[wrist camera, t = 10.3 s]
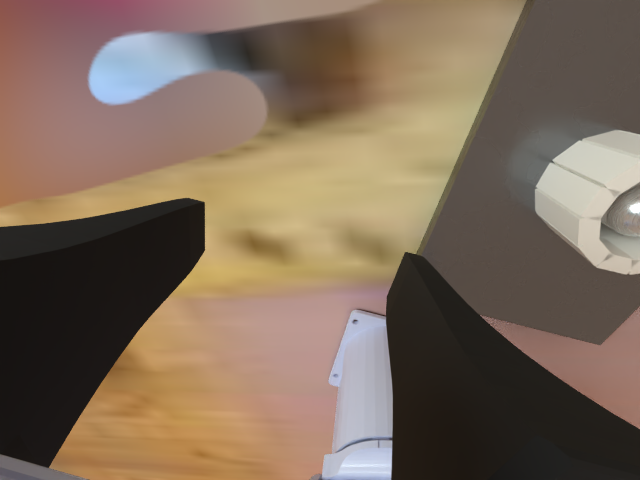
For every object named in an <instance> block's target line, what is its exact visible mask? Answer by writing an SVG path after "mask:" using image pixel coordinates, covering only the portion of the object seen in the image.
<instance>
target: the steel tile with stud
mask: <svg viewBox="0 0 640 480" xmlns="http://www.w3.org/2000/svg"><path fill="white" fill-rule="evenodd" d="M614 130H617V131H618V130H621V131H626V132H630V133H635V134H640V0H527V1H526V4H525V6H524V8H523V10H522V13H521V15H520V17H519V20H518V22H517V24H516V27H515V29H514V31H513V33H512V36H511V38H510V40H509V43H508V45H507V47H506V50H505V52H504V54H503V56H502V59H501V61H500V63H499V66H498V68H497V70H496V73H495V75H494V77H493V79H492V82H491V84H490V86H489V89H488V91H487V93H486V95H485V98H484V100H483V102H482V105H481V107H480V109H479V112H478V114H477V116H476V118H475V121H474V123H473V125H472V128H471V130H470V132H469V135H468V137H467V139H466V141H465V144H464V146H463V148H462V151H461V153H460V155H459V157H458V160H457V162H456V164H455V167H454V169H453V171H452V174H451V176H450V178H449V180H448V183H447V185H446V187H445V190H444V192H443V194H442V197H441V199H440V201H439V203H438V206H437V208H436V210H435V213H434V215H433V217H432V219H431V222H430V224H429V226H428V229H427V231H426V233H425V236H424V238H423V240H422V242H421V245H420V247H419V249H418V252H417V254H416V255H420V256H423V257H424V258H425V259H426V260H427V261H428V262H429V263H430V264H431V265H432V266H433V267H434V268H435V269H436V270H437V271H438V272H439V273H440V275H441V276H442V277H443V278H444V279H445V280H446V281H447V282H448V283H449V285H450V286H451V287H452V288H453V289H454V290H455V291H456V292H457V293H458V294H459V295H460V296H461V297H462V298H463V299H464V300H465V301H466V302H467V304H468V305H470V306H471V307H472V308H473V309H474V310H475V311H476V312H477V313H478V314H479V315H483V316H487V317H491V318H495V319H499V320H503V321H507V322H511V323H515V324H519V325H523V326H527V327H530V328H534V329H538V330H542V331H546V332H550V333H554V334H558V335H562V336H566V337H570V338H574V339H578V340H582V341H586V342H590V343H594V344H598V345H601V344H602V343H603V342H604V341H605V340H606V339H607V338H608V337H609V336H610V335H611V334H612V333H613V332H614V331H615V330H616V329H617V328H618V327H619V326H620V325H621V324H622V323H623V322H624V321H625V320H626V319H627V318H628V317H629V316H630V315H631V314H632V313H633V312H634V311H635V310H636V309H637V308H638V307H639V306H640V273H639V274H632V275H630V274H627V275H625V274H621V273H617V272H613V271H609V270H605V269H601V268H597V267H596V266H594V265H593V264H591V263H590V262H589V261H588V260H587V259H586V258H584V257H583V256H582V255H581V254H580V253H578V252H577V251H576V250H575V249H574V248H573V247H571V246H570V245H569V244H568V243H567V242H565V241H564V240H563V239H562V238H561V237H560V236H558V235H557V234H556V233H555V232H554V231H553V230H551V229H550V228H549V227H548V226H547V225H546V223H545V222H544V221H543V220H542V219H541V218H540V217H539V216H538V215H537V212H536V211H535V189H537V187H536V185H537V183H538V182H539V180H540V178H541V177H542V175H543V173H544V172H545V170H546V168H547V167H548V165H549V163H554V162H553V161H552V160H553V159H554V158H556V157H557V156H558V155H560V154H561V153H563V152H564V151H565V150H567V149H568V148H569V147H571V146H572V145H573V144H575V143H576V142H578V141H579V140H580V141H582V139H583V138H587V137H591V136H595V135H599V134H602V133H606V132H610V131H614ZM554 164H555V163H554ZM601 223H603V224H604V225H606V226H607V227H609V228H611V229H612V230H614V231H616V232H618V233H620V234H623V235H628V236H640V182H639V183H637V184H636V185H634V186H632V187H631V188H629V189H628V190H626V191H624V192H623V193H621V194H619V195H618V196H617V198H616V199H615V200H614V202H613V203H612V204H611V206H610V207H609V208H608V210H607V211H606V212H605V214H604V215H603V216H602V218H601Z"/></svg>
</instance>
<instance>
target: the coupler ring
mask: <svg viewBox="0 0 640 480" xmlns="http://www.w3.org/2000/svg"><path fill="white" fill-rule="evenodd" d="M552 161H553V162H554V163H555V164H554V163H549V165H548V167H547V168H546V170H545V172H544V173H543V175H542V177H541V178H540V180H539V182H538V183H537V185H536V187H537V189H535V211H536V212H537V215H538V216H539V217H540V218H541V219H542V220H543V221H544V222H545V223H546V225H547V226H548V227H549V228H550V229H551V230H553V231H554V232H555V233H556V234H557V235H558V236H560V237H561V238H562V239H563V240H564V241H565V242H567V243H568V244H569V245H570V246H571V247H573V248H574V249H575V250H576V251H577V252H578V253H580V254H581V255H582V256H583V257H584V258H586V259H587V260H588V261H589V262H590V263H591V264H593V265H594V266H596V267H597V268H601V269H605V270H609V271H613V272H617V273H621V274H625V275H627V274H630V275H632V274H639V273H640V236H628V235H623V234H620V233H618V232H616V231H614V230H612V229H611V228H609V227H607V226H606V225H604V224H603V223H601V218H602V216H603V215H604V214H605V212H606V211H607V210H608V208H609V207H610V206H611V204H612V203H613V202H614V200H615V199H616V198H617V196H618V195H619V194H621V193H623V192H624V191H626V190H628V189H629V188H631V187H632V186H634V185H636V184H637V183H639V182H640V134H635V133H630V132H626V131H621V130H618V131H617V130H614V131H610V132H606V133H602V134H599V135H595V136H591V137H587V138H583V139H582V141H580V140H579V141H578V142H576V143H575V144H573V145H572V146H571V147H569V148H568V149H567V150H565V151H564V152H563V153H561V154H560V155H558V156H557V157H556V158H554V159H553V160H552Z"/></svg>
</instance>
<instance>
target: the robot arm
mask: <svg viewBox="0 0 640 480" xmlns="http://www.w3.org/2000/svg"><path fill="white" fill-rule="evenodd" d="M204 251H205V202H202V201H198V200H194V199H190V198H183V199H176V200H171V201H166V202H161V203H157V204H152V205H148V206H143V207H139V208H134V209H130V210H125V211H120V212H115V213H110V214H105V215H100V216H95V217H89V218H83V219H76V220H69V221H61V222H53V223H45V224H34V225H21V226H8V227H0V480H88V479H85V478H81V477H78V476H74V475H71V474H67V473H64V472H60V471H57V470H53V469H50V468H49V466H50V465H51V463H52V461H53V459H54V458H55V456H56V454H57V453H58V451H59V449H60V448H61V446H62V444H63V443H64V441H65V439H66V438H67V436H68V434H69V433H70V431H71V429H72V428H73V426H74V424H75V423H76V421H77V420H78V418H79V416H80V415H81V413H82V412H83V410H84V409H85V407H86V406H87V404H88V402H89V401H90V399H91V398H92V396H93V395H94V393H95V392H96V390H97V389H98V387H99V385H100V384H101V382H102V381H103V380H104V378H105V377H106V375H107V374H108V372H109V371H110V369H111V368H112V367H113V365H114V364H115V362H116V361H117V359H118V358H119V356H120V355H121V354H122V352H123V351H124V350H125V348H126V347H127V345H128V344H129V343H130V341H131V340H132V339H133V337H134V336H135V335H136V333H137V332H138V330H139V329H140V328H141V327H142V326H143V324H144V323H145V322H146V321H147V320H148V318H149V317H150V316H151V315H152V314H153V313H154V312H155V311H156V310H157V308H158V307H159V306H160V305H161V304H162V303H163V302H164V301H165V300H166V299H167V298H168V296H169V295H170V294H171V293H172V292H173V291H174V290H175V289H176V288H177V287H178V286H179V284H180V283H181V282H182V281H183V280H184V279H185V278H186V277H187V275H188V274H189V273H190V272H191V271H192V269H193V268H194V266H195V265H196V263H197V262H198V260H199V259H200V257H201V256H202V254H203V253H204ZM354 320H358V321H354ZM329 384H331V385H333V386H337V387H338V397H337V406H336V416H335V425H334V435H333V444H332V454H325V455H324V464H323V472H322V474H316V475H314V476H312V477H311V478H310V479H309V480H640V429H638V428H637V427H635V426H633V425H632V424H630V423H628V422H626V421H625V420H623V419H621V418H620V417H618V416H616V415H614V414H613V413H611V412H610V411H608V410H606V409H605V408H603V407H602V406H600V405H599V404H597V403H595V402H594V401H592V400H591V399H589V398H588V397H586V396H585V395H583V394H581V393H580V392H578V391H577V390H575V389H574V388H572V387H571V386H569V385H568V384H566V383H565V382H563V381H562V380H561V379H559V378H558V377H556V376H555V375H553V374H552V373H550V372H549V371H548V370H546V369H545V368H544V367H542V366H541V365H539V364H538V363H537V362H535V361H534V360H533V359H531V358H530V357H529V356H527V355H526V354H525V353H523V352H522V351H521V350H519V349H518V348H517V347H516V346H514V345H513V344H512V343H511V342H510V341H508V340H507V339H506V338H505V337H504V336H502V335H501V334H500V333H499V332H498V331H496V330H495V329H494V328H493V327H492V326H491V325H490V324H488V323H487V322H486V321H485V320H484V319H483V318H482V317H481V316H480V315H479V314H478V313H477V312H476V311H475V310H474V309H473V308H472V307H471V306H470V305H468V304H467V302H466V301H465V300H464V299H463V298H462V297H461V296H460V295H459V294H458V293H457V292H456V291H455V290H454V289H453V288H452V287H451V286H450V285H449V283H448V282H447V281H446V280H445V279H444V278H443V277H442V276H441V275H440V273H439V272H438V271H437V270H436V269H435V268H434V267H433V266H432V265H431V264H430V263H429V262H428V261H427V260H426V259H425V258H424V257H423V256H420V255H416V254H412V253H408V252H405V254H404V256H403V259H402V261H401V264H400V266H399V269H398V271H397V273H396V276H395V278H394V281H393V283H392V286H391V288H390V290H389V293H388V295H387V305H386V317H384V316H381V315H377V314H373V313H369V312H365V311H361V310H353V311H352V312H351V315H350V318H349V321H348V323H347V326H346V329H345V332H344V335H343V338H342V341H341V344H340V347H339V350H338V353H337V356H336V359H335V362H334V364H333V367H332V370H331V373H330V376H329Z"/></svg>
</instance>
